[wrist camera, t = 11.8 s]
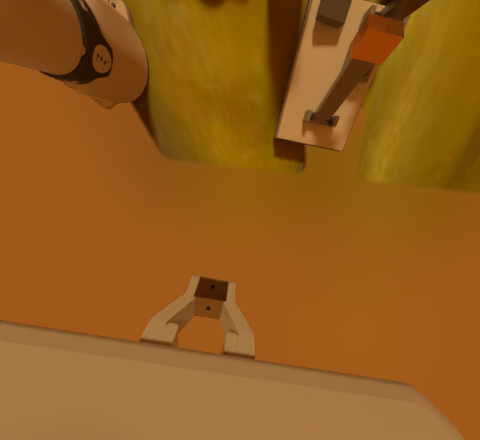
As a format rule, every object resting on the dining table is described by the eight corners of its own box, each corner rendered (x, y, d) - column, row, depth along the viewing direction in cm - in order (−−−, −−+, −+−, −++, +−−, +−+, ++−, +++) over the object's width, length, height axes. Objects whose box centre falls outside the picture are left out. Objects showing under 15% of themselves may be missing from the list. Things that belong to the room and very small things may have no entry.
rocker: (315, 19, 28) (320, 14, 27) (322, -8, 27) (328, -15, 25) (338, 28, 29) (344, 23, 27) (346, 2, 27) (353, -4, 26)
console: (273, 137, 41) (277, 138, 35) (307, 3, 31) (320, -26, 25) (334, 150, 41) (348, 153, 36) (387, 22, 31) (417, -2, 26)
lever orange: (306, 124, 35) (367, 28, 20) (308, 114, 35) (368, 13, 20) (327, 129, 35) (404, 37, 20) (328, 119, 35) (403, 21, 20)
